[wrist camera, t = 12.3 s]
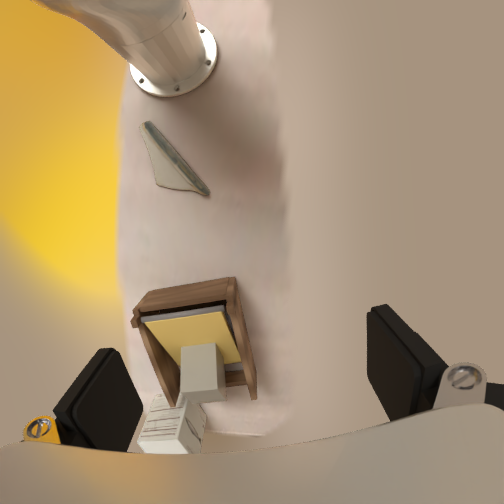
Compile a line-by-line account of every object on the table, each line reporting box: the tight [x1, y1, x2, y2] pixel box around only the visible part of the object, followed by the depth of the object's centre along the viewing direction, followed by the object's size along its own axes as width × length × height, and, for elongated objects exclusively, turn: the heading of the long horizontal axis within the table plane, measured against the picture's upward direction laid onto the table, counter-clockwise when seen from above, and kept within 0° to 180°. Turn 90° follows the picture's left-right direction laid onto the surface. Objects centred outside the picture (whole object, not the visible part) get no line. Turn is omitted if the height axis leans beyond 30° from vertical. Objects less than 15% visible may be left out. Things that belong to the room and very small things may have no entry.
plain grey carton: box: [180, 343, 227, 404], centre depth 40 cm, size 5×5×7 cm
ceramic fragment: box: [139, 121, 210, 195], centre depth 38 cm, size 14×5×4 cm, turn 39°
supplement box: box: [137, 393, 207, 454], centre depth 43 cm, size 7×7×13 cm
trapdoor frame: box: [130, 277, 257, 408], centre depth 41 cm, size 17×13×8 cm
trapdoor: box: [141, 305, 241, 368], centre depth 41 cm, size 14×11×1 cm
